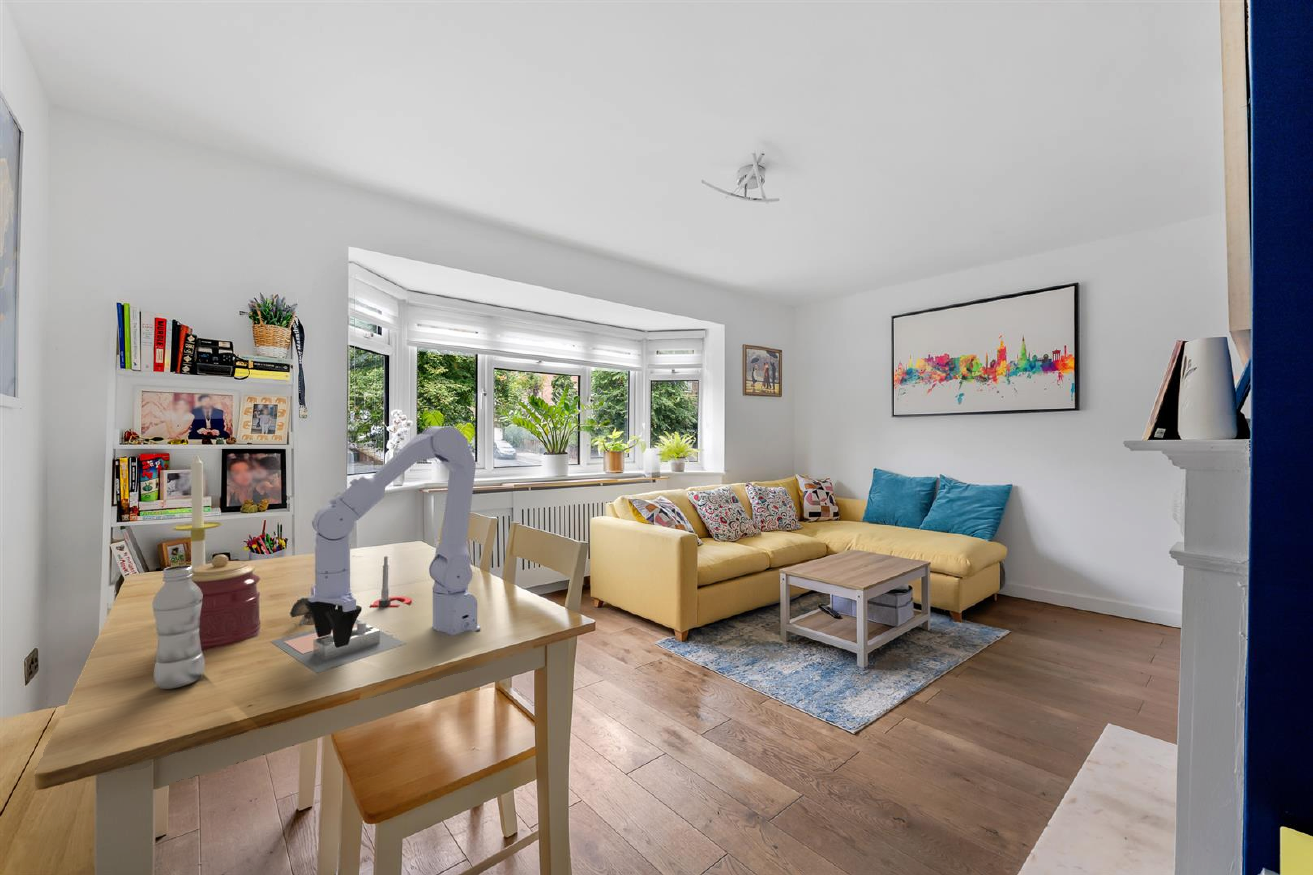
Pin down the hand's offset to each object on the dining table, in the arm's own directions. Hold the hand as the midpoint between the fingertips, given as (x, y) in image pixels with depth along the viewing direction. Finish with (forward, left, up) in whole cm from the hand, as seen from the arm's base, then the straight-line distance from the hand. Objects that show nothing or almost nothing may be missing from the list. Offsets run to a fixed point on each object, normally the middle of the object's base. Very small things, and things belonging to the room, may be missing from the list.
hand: (332, 640), depth 102 cm
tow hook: (+20, -22, -4) cm, 30 cm away
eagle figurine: (+22, -4, -4) cm, 22 cm away
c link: (0, -3, -2) cm, 3 cm away
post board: (+4, -3, -3) cm, 6 cm away
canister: (+26, +10, -4) cm, 28 cm away
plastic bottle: (+9, +20, -3) cm, 23 cm away
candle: (+50, +8, -3) cm, 51 cm away
